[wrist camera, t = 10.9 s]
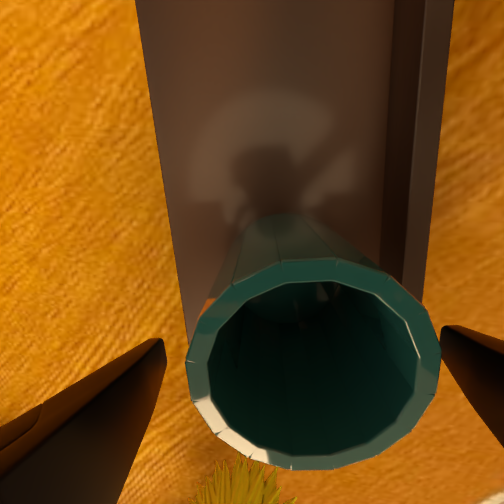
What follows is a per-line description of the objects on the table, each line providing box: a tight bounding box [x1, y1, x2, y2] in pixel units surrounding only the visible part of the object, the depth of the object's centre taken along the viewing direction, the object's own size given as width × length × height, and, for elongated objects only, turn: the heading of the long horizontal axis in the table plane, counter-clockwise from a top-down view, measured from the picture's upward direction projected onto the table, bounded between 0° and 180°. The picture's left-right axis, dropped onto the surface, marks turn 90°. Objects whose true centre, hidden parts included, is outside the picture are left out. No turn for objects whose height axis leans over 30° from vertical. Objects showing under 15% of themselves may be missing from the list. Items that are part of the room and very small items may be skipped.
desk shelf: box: [135, 0, 455, 345], centre depth 14 cm, size 12×20×6 cm, turn 4°
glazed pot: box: [185, 213, 442, 471], centre depth 11 cm, size 7×7×8 cm
